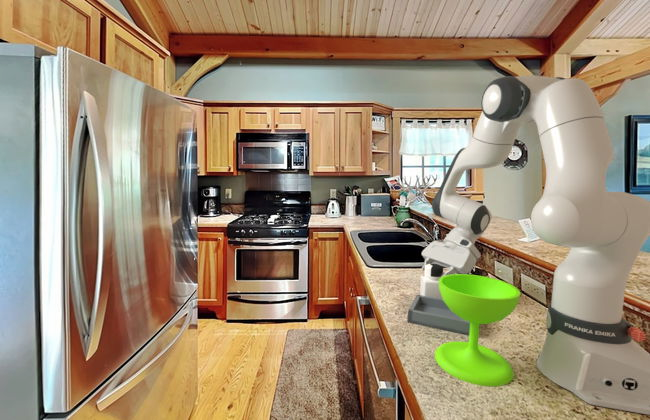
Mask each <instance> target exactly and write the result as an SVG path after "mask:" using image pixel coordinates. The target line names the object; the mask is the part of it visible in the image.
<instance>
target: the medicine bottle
mask: <svg viewBox="0 0 650 420" xmlns="http://www.w3.org/2000/svg"><path fill="white" fill-rule="evenodd" d="M423 271H424V270H423ZM443 272H444V267H443V266H441V265H438V264H435V263H431V264H427V265H425V271H424V274H423V275H421V276H420V287H419V295H423V296H428V297H434V298H440V299H443V298H442V295H441V293H440V290H439V279H440V278H441V274H442V273H443Z"/></svg>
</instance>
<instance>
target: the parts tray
mask: <svg viewBox="0 0 650 420" xmlns="http://www.w3.org/2000/svg"><path fill="white" fill-rule="evenodd" d="M407 323H410V324H413V325H418V326H419V325H420V326H423V327H428V328H433V329H438V330H442V331H445V332H450V333H451V332H452V333H456V334H460V335H465V336H469V332H470V322H469V321H466V320H464V319H462V318H460V317H459V316H457V315H456V314H455V313H454V312H452V311H451V310H450V309H449V308H448V306H447V305H446V303H445V302H444V301H443V299H440V298H434V297H428V296H423V295H420V294H416V295H415V297H414V299H413V300H412V303H411V304H410V306H409V308H408V310H407Z"/></svg>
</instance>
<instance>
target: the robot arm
mask: <svg viewBox="0 0 650 420" xmlns="http://www.w3.org/2000/svg"><path fill="white" fill-rule="evenodd" d="M480 102H481V106H480V107H481V110H482V112H481V114H480V116H479V118H478V120H477V123H476V125H475V127H474V131H473V135H472V138H471V140H470V142H469V143H468V145H467V146H465V147H461V148H460V149H459V150H458V151H457V153H456V154H455V156H454V157H453V158H452V161H451V162H450V165H449V167H448V169H447V171H446V174H445V176H444V178H443V180H442V183H441V185H440V187H439V189H438V190H437V192H436V194H435V195H434V196H433V199H432V201H431V208H432V212H433V215H435V216H437V217H439V218H441V219H444V220H446V221H448V222H449V221H450V222H451V223H453V224H455V225H456V226H455V227H454V228H452V229H451V230H450V231H449V233H447V235H446V236H445V237H444V239H443V240H442V239H436V240H433V241H432V242H430V243H429V244H428V245H427V246H426V247H425V248H424V249H423V250H422V251H421V256H422V257H423V259H424V264H423V265H422V267H421V269H422V271H425V265H427V264H438V265H440V266H442V267H443V268H446V269H448V270H447V271H443V273H442V274H441V277H443V276H446V275H452V274H457V273H458V274H469V273H470V272H471V271H472V269H473V268H474V267H475V265H476V264H477V261H478V260H479V259H480V258H481V256H482V254H481V252H480V251H479V250H478V249H477V247H476V246H475V243H476V241H477V240H478V239H479V238H480V237H482V235H483V234H484V233H485V231H486V230H487V228H488V226H489V225H490V223H491V221H492V219H493V215H492V213H491V211H490V210H489V209H488V207H487V206H486V205H484V204H483V203H481V202H478V201H476V200H473V199H472V198H469V197H466V196H463V195H461V194H460V193H458V192H457V191H456V189H457V188H458V184H459V182H460V181H461V179H462V177H463V174H464V173H465V171H467V170H474V169H475V170H479V169H480V170H482V169H489V168H494V167H496V166H499V165H501V164H502V163H504V162H505V161H506V160H507V159H508V158H509V156H510V154H511V152H512V149H513V146H514V144H515V143H516V142H515V141H516V138H517V134H518V132H519V129H520V128H521V126H522V125H524V124H536V127H537V132H538V136H539V141H540V146H541V147H540V148H541V150H542V155H543V161H544V165H545V184H544V189H543V192H542V196H541V197H540V199H539V201H538V202H536V204H535V205H534V207H533V208H532V211H531V214H530V224H531V228H532V230H533V231H534V234H535V235H536V236H537V237H538V238H539V239H540V240H542V241H543V242H545V243H547V244H550V245H555V246H559V247H565V248H568V249H569V248H570V250H569V252H568V254H567V255H566V257H565V258H564V259H563V261H561V262H560V263H559V264H558V265H557V266H556V268H555V270H554V272H553V281H552V293H551V301H550V303H549V304H548V306H547V307H548V309H547V312H546V323H545V326H546V330H547V331H546V337H545V340H544V344H543V347H542V350H541V352H540V354H539V357H538V359H537V360H536V367H537V369H538V370H539V372H540V373H542V374H543V375H544V376H545V377H546V378H548V380H550V381H551V382H553V383H555V384H556V385H558V386H560V387H562V388H564V389H566V390H568V391H570V392H572V393H573V394H574V395H575V396H576V397H578V398H579V399H581V400H582V401H584V402H585V403H586V404H587V403H588V404H590V405H593V406H598V407H603V408H608V409H615V410H621V411H626V412H632V413H638V414H643V415H648V416H650V353H649V352H648V351H647V350H645V349H644V348H643V347H642V346H641V345H639V343H637V342H644V340H646V338H647V337H646V333H644V331H642V330H641V329H640V328H638V327H636V326H634V325H633V324H632V323H631V322H629V321H628V320H627V319H624V318H623V316H622V315H623V310H624V309H623V308H624V301H625V293H626V286H627V283H628V279H629V277H630V274H631V271H632V270H633V267H634V265H635V262H636V260H637V258H638V256H639V254H640V252H641V250H642V247H643V245H644V244H645V242H646V241H647V239H648V238H649V237H650V201H649V200H648V199H646V198H643V197H641V196H638V195H635V194H632V193H629V192H624V191H607V188H606V187H607V186H606V179H607V178H606V176H607V170H608V166H609V165H611V163H612V162H613V160H614V158H615V151H614V147H613V144H612V143H613V142H612V141H611V137H610V133H609V130H608V128H607V124H606V120H605V116H604V113H603V111H602V108H601V106H600V105H601V104H600V103H599V101H598V98H597V97H596V95H595V94H594V92H593V90H592V89H591V87H590V85H589V84H588V82H586V81H585V80H583V79H581V78H578V77H571V78H565V77H561V76H556V77H551V76H543V75H533V74H532V75H527V74H526V75H518V76H513V75H509V76H508V75H507V76H503V77H499V78H496V79H493V80H492V81H491V82H489V84H488V85H487V86H486V87H485V90H484V91H483V94H482V97H481V101H480Z"/></svg>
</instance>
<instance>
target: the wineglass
mask: <svg viewBox="0 0 650 420" xmlns="http://www.w3.org/2000/svg"><path fill="white" fill-rule="evenodd" d="M439 290H440V293H441V295H442V298H443V301H444V302H445V303H446V305H447V306H448V308H449V309H450V310H451V311H452V312H454V313H455V314H456V315H457V316H459V317H460V318H462V319H464V320H466V321H469V322H470V332H469V335H468V341H462V340H461V341H458V340H457V341H448V342H445V343H442V344H441V345H439V346H438V347H437V348H436V350H435V352H434V360H435V361H436V363H437V365H438V366H439V367H440V368H442V370H443V371H444V372H446V373H448V374H449V375H451V376H452V377H453V378H456V379H458V380H461V381H462V382H466V383H469V384H471V385H477V386H482V387H501V386H505V385H508V384H509V383H511V382H512V380H513V379H514V377H515V376H514V370H513V368H512V365H511V364H510V362H509V361H508V360H507V359H506V358H504V356H502V355H501V354H499V353H498V352H497V351H495V350H493V349H492V348H489V347H487V346H483V345H481V344H479V337H480V326H481V325H490V324H494V323H497V322H500V321H503V320H504V319H506V318H507V317H508V316H509V315H511V314H512V313H513V312H514V311H515V308H516V307H517V306H518V304H519V301H520V297H521V290H520V289H518V288H517V287H516V286H514V285H512V284H511V283H509V282H507V281H504V280H500V279H497V278H493V277H489V276H483V275H476V274H469V273H467V274H462V273H455V274H452V275H446V276H443V277H441V278H440V279H439Z"/></svg>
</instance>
